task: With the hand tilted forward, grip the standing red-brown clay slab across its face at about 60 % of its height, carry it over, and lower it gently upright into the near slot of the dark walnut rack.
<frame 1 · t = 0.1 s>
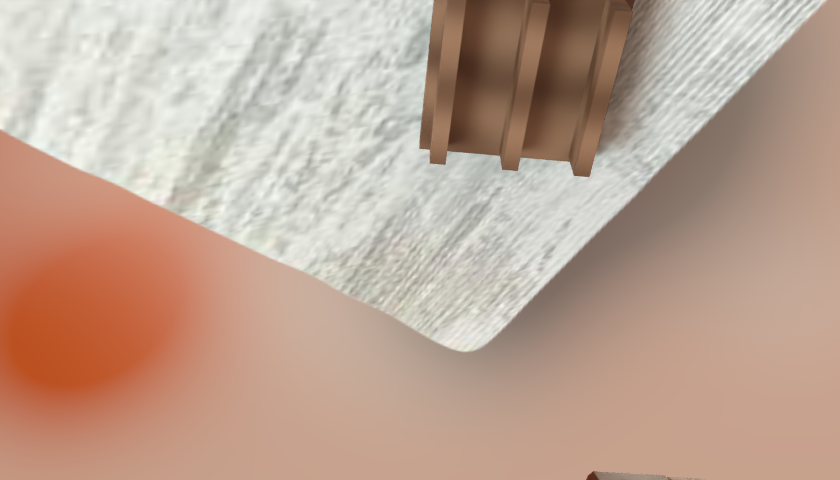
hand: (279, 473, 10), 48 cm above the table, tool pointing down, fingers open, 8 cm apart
rack: (518, 67, 57), on the table
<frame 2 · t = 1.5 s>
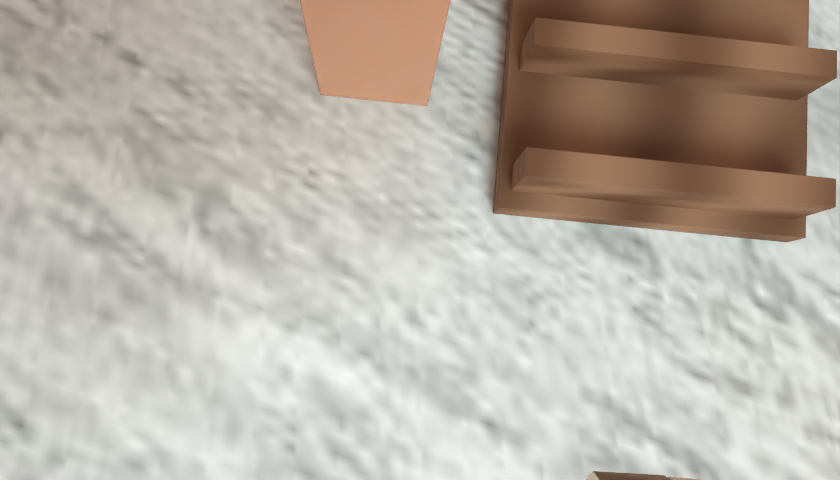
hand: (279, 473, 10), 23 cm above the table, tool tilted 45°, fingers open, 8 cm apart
clay slab: (376, 75, 35), on the table
rack: (648, 84, 36), on the table
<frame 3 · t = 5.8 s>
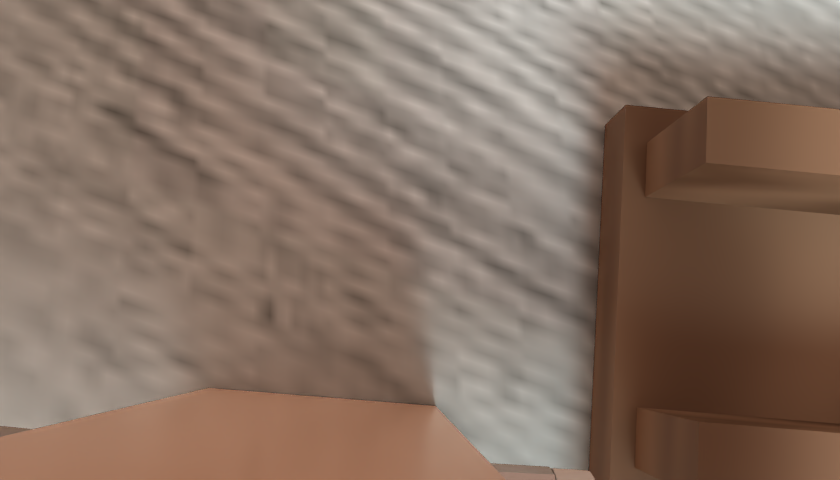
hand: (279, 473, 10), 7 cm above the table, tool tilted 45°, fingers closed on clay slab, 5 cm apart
clay slab: (317, 452, 16), on the table, touching gripper
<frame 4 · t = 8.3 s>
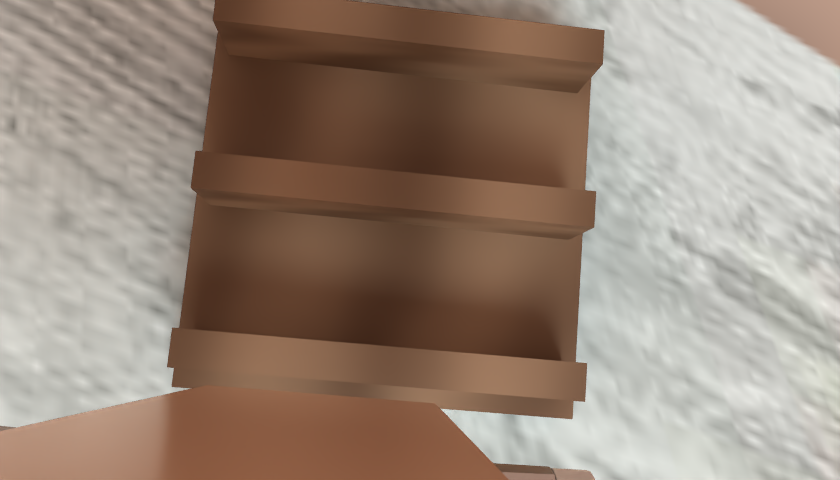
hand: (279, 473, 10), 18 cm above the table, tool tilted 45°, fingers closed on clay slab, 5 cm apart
clay slab: (316, 450, 16), point 11 cm above the table, touching gripper
rack: (391, 213, 28), on the table
when the fingers open (9 cm above the table, at t = 11.0 s): clay slab drops 1 cm, resting on rack.
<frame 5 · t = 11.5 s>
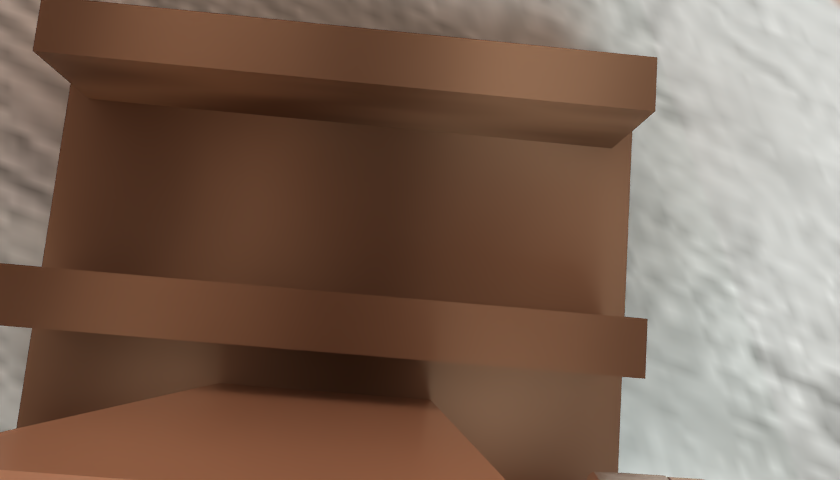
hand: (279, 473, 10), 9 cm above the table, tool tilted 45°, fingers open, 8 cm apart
clay slab: (320, 443, 17), point 1 cm above the table, touching rack
rack: (337, 327, 19), on the table
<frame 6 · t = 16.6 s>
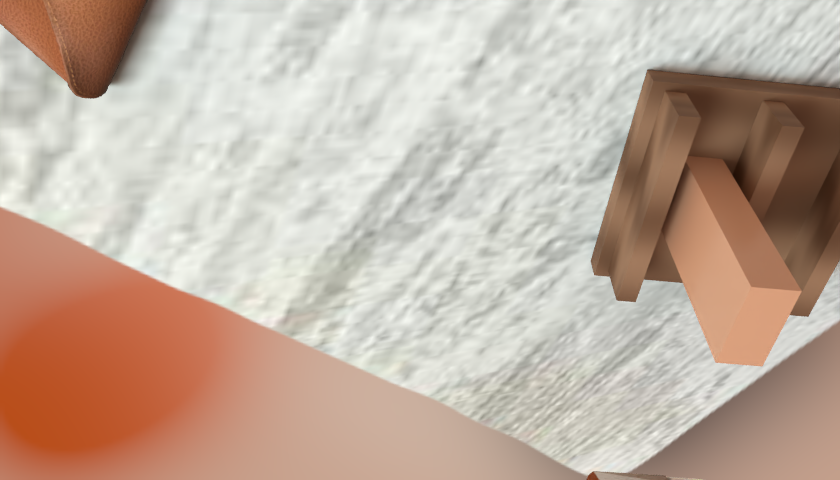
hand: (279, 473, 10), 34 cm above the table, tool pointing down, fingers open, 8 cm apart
clay slab: (689, 192, 46), point 1 cm above the table, touching rack
rack: (725, 184, 47), on the table
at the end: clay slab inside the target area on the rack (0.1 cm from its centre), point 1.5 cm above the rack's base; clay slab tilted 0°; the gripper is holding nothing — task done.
